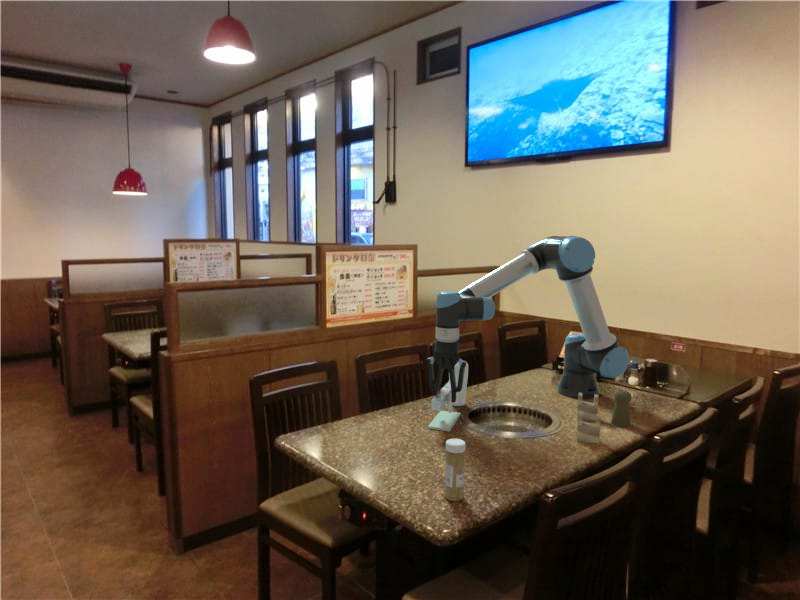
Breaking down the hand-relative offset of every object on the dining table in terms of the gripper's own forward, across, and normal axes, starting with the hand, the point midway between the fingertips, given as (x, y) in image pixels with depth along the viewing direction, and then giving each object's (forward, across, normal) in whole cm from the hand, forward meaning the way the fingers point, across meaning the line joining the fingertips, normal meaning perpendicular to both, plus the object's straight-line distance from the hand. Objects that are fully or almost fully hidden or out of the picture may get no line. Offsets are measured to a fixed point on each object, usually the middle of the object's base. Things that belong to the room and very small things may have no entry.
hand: (445, 410), depth 173 cm
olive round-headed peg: (+4, +54, +19) cm, 58 cm away
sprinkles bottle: (+4, +14, -48) cm, 50 cm away
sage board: (+4, 0, 0) cm, 4 cm away
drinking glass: (+4, 0, +19) cm, 19 cm away
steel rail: (-4, 0, 0) cm, 4 cm away
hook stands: (+4, +44, +10) cm, 45 cm away
